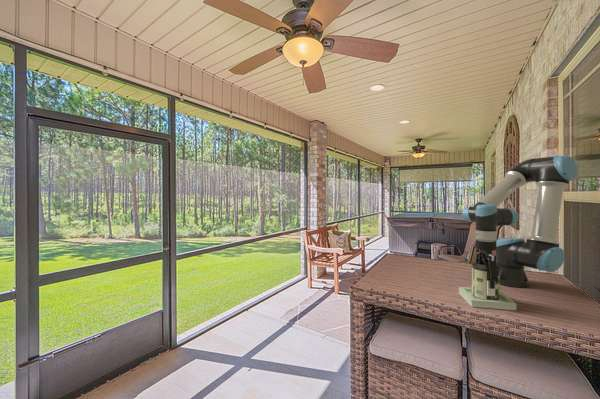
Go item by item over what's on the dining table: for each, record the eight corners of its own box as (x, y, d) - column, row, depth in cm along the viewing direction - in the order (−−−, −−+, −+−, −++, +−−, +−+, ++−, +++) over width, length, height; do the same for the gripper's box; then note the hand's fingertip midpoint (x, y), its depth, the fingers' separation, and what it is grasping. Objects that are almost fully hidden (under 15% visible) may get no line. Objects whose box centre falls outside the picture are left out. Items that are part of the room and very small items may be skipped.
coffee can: (498, 296, 121) (499, 264, 120) (500, 304, 112) (501, 270, 112) (471, 291, 126) (471, 261, 126) (471, 299, 118) (471, 267, 117)
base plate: (497, 295, 125) (497, 289, 125) (516, 310, 110) (516, 303, 109) (458, 292, 129) (458, 286, 129) (471, 306, 113) (471, 300, 113)
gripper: (466, 235, 130) (466, 281, 131) (487, 245, 108) (486, 300, 109) (484, 236, 129) (484, 282, 129) (509, 245, 106) (508, 302, 107)
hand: (485, 290), depth 119 cm, fingers open, 10 cm apart
